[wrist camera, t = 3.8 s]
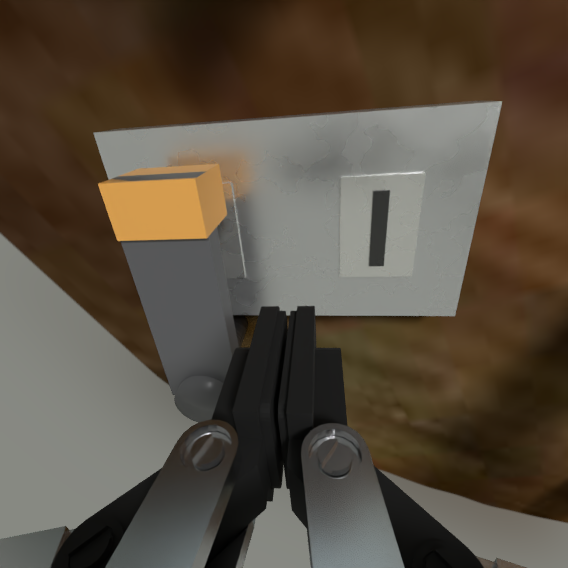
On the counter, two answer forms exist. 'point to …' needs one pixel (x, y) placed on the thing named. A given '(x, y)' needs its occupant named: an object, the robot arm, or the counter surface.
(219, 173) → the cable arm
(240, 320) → the pivot post
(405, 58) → the counter surface
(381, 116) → the panel
